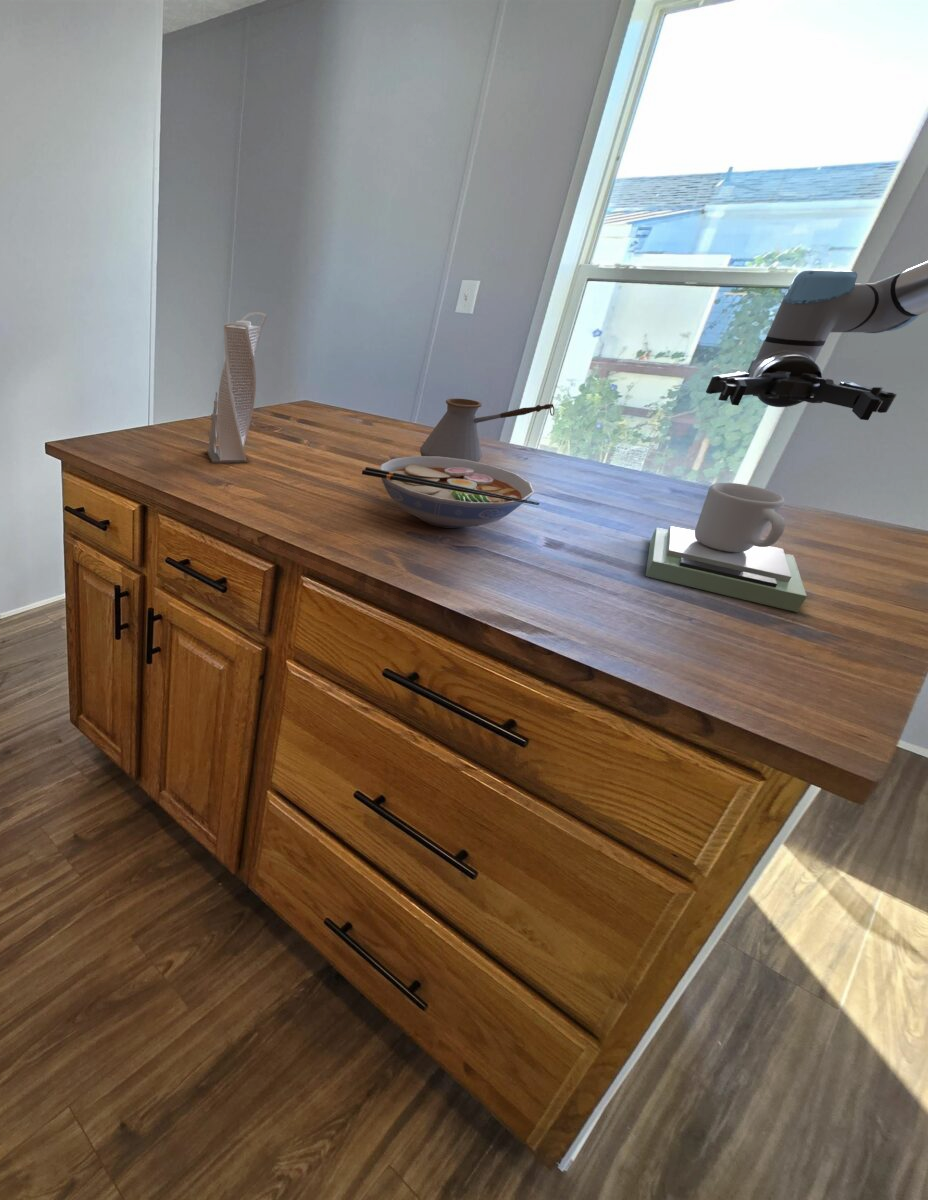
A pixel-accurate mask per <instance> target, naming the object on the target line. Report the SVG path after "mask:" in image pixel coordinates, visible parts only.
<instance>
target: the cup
mask: <svg viewBox="0 0 928 1200" xmlns="http://www.w3.org/2000/svg"><path fill="white" fill-rule="evenodd" d="M785 502H786V500H785V498H784V497H783V496H782V495H781V494H779V493H777V492H774V491H771V490H769V489H766V488H763V487H758V486H754V485H751V484H750V485H749V484H744V483H735V482H716V483H713V484H711V485H710V486H709V488H708V490H707V493H706V496H705V499H704V502H703V505H702V507H701V511H700V514H699V517H698V520H697V523H696V526H695V529H694V531H695V538H696V539H697V541H699V542H700V543H701V544H703V545H705V546H708V547H710V548H714V549H717V550H721V551H727V552H744V551H747V550H749V549H751V548H752V547H753V546H757V547H768V546H773V545H775V544H776V543H777V542H778V541H779V540H780V539H781V537H782V536H783V535H784V533H785V532H784V531H785V529H786V521H785V519H784V517H783V516H782V515H780V514H779V512H780V510H781V509H782V508H783V506H784V505H785ZM770 524H771V529H770V531H769V533H768V535H767V537H765V538H764V540H763V539H762V536H763V534H764V533H765V531H766V530H767V528H768V527H769V526H770Z"/></svg>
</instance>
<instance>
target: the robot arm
mask: <svg viewBox="0 0 928 1200" xmlns="http://www.w3.org/2000/svg"><path fill="white" fill-rule="evenodd" d="M857 279H858V273H857V272H856V271H854V270H841V269H804V270H801V271H799V272H798V273H797V274H796V275H795V276H794V278H793V280H792V282H791V283H790V285H789V287H788V289H787V291H786V293H785V294H784V295H783V296H782V301H781V302H780V305H779V308H778V310H777V312H776V314H775V316H774V319H773V321H772V323H771V325H770V327H769V330H768V332H767V335H766V337H765V339H764V340H763V342H762V343H761V346H760V349H759V350H758V353H757V355H756V357H754V359H752V361H751V362H750V365H749V368H748V369H747V371H744V370H739V371H736V372H731V373H725V374H718V375H712V376H711V378H710V381H709V383H708V385H707V388H706V390H705V393H706V394H709V395H714V394H719V396H718V399H717V400H718V401H723V402H727V401H728V399H729V400H730V403H731V405H732V406H739V405H740V403H741V400H742V399H743V396H752V397H757V398H758V400H759V401H760V402H761V403H763V404H765V405H767V406H770V407H774V408H788V407H793V406H797V405H799V404H802V403H804V402H805V403H811V404H823V403H827V404H830V405H834V406H835V405H836V406H839V407H844V408H849V409H852V410H851V411H852V413H853V414H854V415H855V416H856V417H857V418H858V419H859V420H863V421H869V420H870V418H871V416H872V414H873V413H880V414H885V413H887V412H888V411H889V409H890V407H891V406H892V404H893V402H894V401H895V399H896V397H897V393H894V392H889V391H884V390H883V388H884V387H882V386H879V387H878V386H873V387H869V386H864V385H861V384H858V383H855V382H853V381H851V380H844V381H840V382H839V384H836V383H835V381H834V380H833V379H830V378H824V377H823V373H822V369H821V368H820V366H819V365H818V364H817V363H816V361H817V359H818V357H819V355H820V353H821V351H822V349H823V346H825V344H826V341H827V340H828V337H829V335H830V334H831V333H864V334H879V333H885V332H893V331H897V330H900V329H902V328H904V327H906V326H909V325H910V324H912V322H914V321H915V320H916V319H918V317H920V316H921V315H922V314H925V313H928V260H927V261H925V262H923V263H920V264H917V265H915V266H911V267H910V268H907V269H906V270H903V271H901V272H899V273H896V274H894V275H891V276H888V277H886V278H883V279H881V280H879V281H875V282H869V283H868V282H867V283H866V282H865V283H863V282H856V281H857Z"/></svg>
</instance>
